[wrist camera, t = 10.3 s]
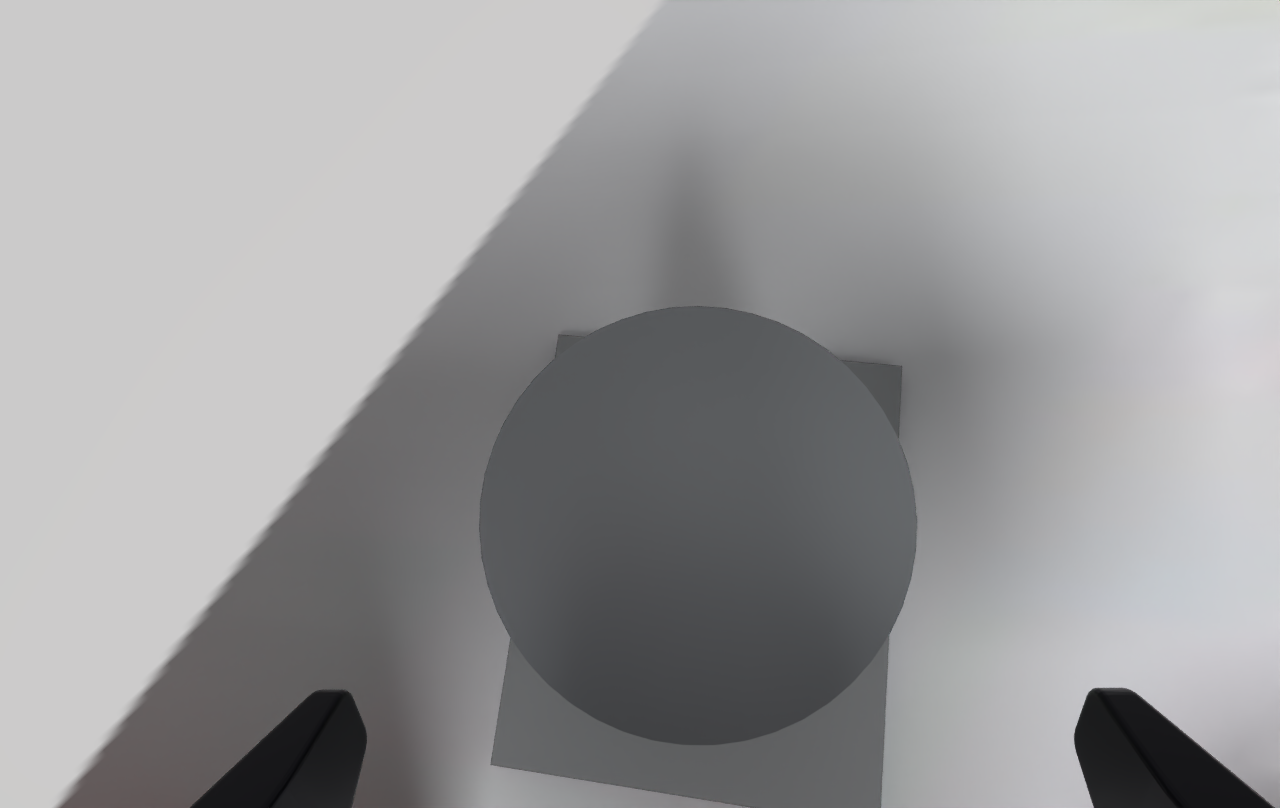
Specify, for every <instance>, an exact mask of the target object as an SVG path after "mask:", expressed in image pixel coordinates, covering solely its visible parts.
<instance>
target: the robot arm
mask: <svg viewBox="0 0 1280 808" xmlns="http://www.w3.org/2000/svg"><path fill="white" fill-rule="evenodd" d="M1074 742H1075V749H1076V753H1077V756H1078V759H1079V762H1080V766H1081V769H1082V772H1083V775H1084V778H1085V781H1086V784H1087V788H1088V791H1089V794H1090V797H1091V800H1092V803H1093V806H1094V808H1275V807H1273V806H1272V805H1271V804H1270V803H1269V802H1267V801H1266V800H1265V799H1264V798H1263V797H1261V796H1260V795H1259V794H1258V793H1257V792H1255V791H1254V790H1253V789H1252V788H1251V787H1249V786H1248V785H1247V784H1246V783H1244V782H1243V781H1242V780H1241V779H1240V778H1238V777H1237V776H1236V775H1235V774H1234V773H1232V772H1231V771H1230V770H1229V769H1228V768H1226V767H1225V766H1224V765H1223V764H1221V763H1220V762H1219V761H1218V760H1217V759H1215V758H1214V757H1213V756H1212V755H1211V754H1209V753H1208V752H1207V751H1206V750H1205V749H1203V748H1202V747H1201V746H1200V745H1198V744H1197V743H1196V742H1195V741H1194V740H1192V739H1191V738H1190V737H1189V736H1188V735H1186V734H1185V733H1184V732H1183V731H1182V730H1180V729H1179V728H1178V727H1177V726H1175V725H1174V724H1173V723H1172V722H1171V721H1169V720H1168V719H1167V718H1166V717H1165V716H1163V715H1162V714H1161V713H1160V712H1159V711H1157V710H1156V709H1155V708H1154V707H1153V706H1151V705H1150V704H1149V703H1148V702H1146V701H1145V700H1144V699H1143V698H1142V697H1140V696H1139V695H1138V694H1136V693H1135V692H1133V691H1131V690H1129V689H1126V688H1094V689H1092V690H1091V691H1090V692H1089V693H1088V695H1087V697H1086V700H1085V703H1084V706H1083V708H1082V711H1081V714H1080V717H1079V720H1078V723H1077V726H1076V729H1075V734H1074ZM366 743H367V735H366V729H365V726H364V724H363V721H362V719H361V716H360V714H359V711H358V709H357V706H356V704H355V701H354V699H353V697H352V695H351V693H349V692H348V691H347V690H318V691H316V692H314V693H312V694H311V695H310V696H308V697H307V698H306V699H305V700H304V701H303V702H302V703H301V704H300V705H299V706H298V707H297V708H296V709H295V710H293V711H292V712H291V713H290V714H289V715H288V716H287V717H286V718H285V719H284V720H283V721H282V722H281V723H280V724H279V725H277V726H276V727H275V728H274V729H273V730H272V731H271V732H270V733H269V734H268V735H267V736H266V737H265V738H264V739H263V740H261V741H260V742H259V743H258V744H257V745H256V746H255V747H254V748H253V749H252V750H251V751H250V752H249V753H248V754H247V755H245V756H244V757H243V758H242V759H241V760H240V761H239V762H238V763H237V764H236V765H235V766H234V767H233V768H232V769H231V770H229V771H228V772H227V773H226V774H225V775H224V776H223V777H222V778H221V779H220V780H219V781H218V782H217V783H216V784H215V785H214V786H212V787H211V788H210V789H209V790H208V791H207V792H206V793H205V794H204V795H203V796H202V797H201V798H200V799H199V800H198V801H196V802H195V803H194V804H193V805H192V806H191V807H190V808H352V804H353V799H354V795H355V791H356V787H357V783H358V779H359V775H360V771H361V766H362V762H363V758H364V754H365V750H366Z"/></svg>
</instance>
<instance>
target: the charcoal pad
mask: <svg viewBox="0 0 1280 808" xmlns="http://www.w3.org/2000/svg"><path fill="white" fill-rule="evenodd" d="M583 338H585V337H580V336H569V335H559V336H558V342H557V348H556V355H555V358H557V357H558V356H559V355H560V354H562V353H563V352H564V351H566V350H567V349H568V348H569V347H571V346H572V345H573V344H575V343H576V342H578V341H580V340H581V339H583ZM840 361H841V360H840ZM841 362H843V363H844V364H845V365H846V366H847V367H848V368H849V369H850V370H851V371H852V372H853V373H854V374H855V375H856V376H857V377H858V378H859V380H860V381H861V382H862V383H863V384H864V385H865V386H866V387H867V388H868V390H869V391H870V393H871V394H872V395H873V397H874V398H875V400H876V401H877V402H878V404H879V405H880V406H881V408H882V409H883V411H884V413H885V415H886V416H887V418H888V420H889V422H890V424H891V426H892V428H893V429H894V431H895V433H896V435H897V437H898V438H899V418H900V397H901V376H902V366H896V365H885V364H874V363H863V362H852V361H841ZM888 646H889V636H888V637H887V639H886V640H885V642H884V643H883V645H882V646H881V648H880V650H879V651H878V653H877V654H876V656H875V657H874V659H873V660H872V661H871V663H870V664H869V665H868V666H867V667H866V668H865V669H864V670H863V672H862V673H861V674H860V675H859V676H858V677H857V678H856V680H855V681H854V682H853V683H852V684H851V685H850V686H848V687H847V688H846V689H845V690H844V691H843V692H841V693H840V694H839V695H838V696H837V697H836V698H834V699H833V700H832V701H831V702H830V703H829V704H827V705H825V706H824V707H822V708H821V709H819V710H817V711H816V712H814V713H813V714H811V715H810V716H808V717H806V718H805V719H803V720H801V721H799V722H797V723H795V724H792V725H790V726H788V727H786V728H783V729H781V730H779V731H777V732H775V733H771V734H768V735H764V736H761V737H757V738H754V739H750V740H747V741H741V742H734V743H727V744H720V745H680V744H673V743H666V742H659V741H653V740H649V739H646V738H642V737H639V736H636V735H632V734H629V733H625V732H623V731H620V730H618V729H616V728H614V727H612V726H609V725H607V724H605V723H603V722H600V721H598V720H596V719H594V718H593V717H591V716H590V715H588V714H587V713H585V712H583V711H582V710H580V709H579V708H577V707H575V706H574V705H572V704H571V703H569V702H568V701H567V700H566V699H565V698H563V697H562V696H561V695H560V694H559V693H557V692H556V691H555V690H554V689H553V688H552V687H550V686H549V685H548V684H547V683H546V682H545V681H544V680H543V679H542V678H541V676H540V675H539V674H538V673H537V672H536V671H535V670H534V669H533V668H532V667H531V665H530V664H529V663H528V662H527V661H526V659H525V658H524V656H523V655H522V654H521V652H520V651H519V649H518V648H517V646H516V645H515V643H514V642H513V641H512V639H511V638H510V645H509V651H508V657H507V664H506V670H505V676H504V683H503V689H502V695H501V702H500V708H499V714H498V720H497V727H496V733H495V739H494V746H493V752H492V758H491V765H494V766H500V767H507V768H513V769H519V770H525V771H531V772H537V773H543V774H550V775H556V776H562V777H568V778H574V779H580V780H586V781H593V782H599V783H605V784H611V785H617V786H623V787H629V788H636V789H642V790H648V791H654V792H660V793H666V794H672V795H679V796H685V797H691V798H697V799H703V800H709V801H715V802H722V803H728V804H734V805H740V806H746V807H752V808H881V792H882V771H883V750H884V729H885V708H886V688H887V667H888Z"/></svg>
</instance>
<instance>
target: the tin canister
mask: <svg viewBox="0 0 1280 808" xmlns="http://www.w3.org/2000/svg"><path fill="white" fill-rule="evenodd" d="M916 531H917V516H916V507H915V497H914V489H913V485H912V481H911V477H910V473H909V468H908V464H907V461H906V458H905V456H904V453H903V450H902V448H901V445H900V443H899V440H898V437H897V435H896V433H895V431H894V429H893V428H892V426H891V424H890V422H889V420H888V418H887V416H886V415H885V413H884V411H883V409H882V408H881V406H880V405H879V404H878V402H877V401H876V400H875V398H874V397H873V395H872V394H871V393H870V391H869V390H868V388H867V387H866V386H865V385H864V384H863V383H862V382H861V381H860V380H859V378H858V377H857V376H856V375H855V374H854V373H853V372H852V371H851V370H850V369H849V368H848V367H847V366H846V365H845V364H844V363H843V362H841V361H840V360H839V359H838V358H836V357H835V356H834V355H833V354H832V353H830V352H829V351H828V350H827V349H826V348H824V347H822V346H821V345H819V344H818V343H816V342H815V341H813V340H811V339H810V338H808V337H807V336H805V335H804V334H802V333H800V332H798V331H796V330H794V329H791V328H789V327H787V326H785V325H783V324H781V323H779V322H776V321H773V320H770V319H767V318H764V317H761V316H758V315H755V314H752V313H747V312H742V311H737V310H732V309H727V308H715V307H702V306H695V307H674V308H667V309H661V310H656V311H650V312H645V313H642V314H638V315H635V316H632V317H628V318H625V319H622V320H619V321H617V322H615V323H612V324H610V325H608V326H606V327H603V328H601V329H599V330H597V331H595V332H593V333H592V334H590V335H588V336H587V337H585V338H583V339H581V340H580V341H578V342H576V343H575V344H573V345H572V346H571V347H569V348H568V349H567V350H566V351H564V352H563V353H562V354H560V355H559V356H558V357H557V358H555V359H554V360H553V361H552V362H551V363H550V364H549V365H548V366H547V367H546V368H545V369H544V370H543V371H542V372H541V373H540V374H539V375H538V376H537V377H536V378H535V379H534V380H533V381H532V382H531V384H530V385H529V386H528V388H527V389H526V390H525V391H524V393H523V394H522V395H521V396H520V398H519V399H518V400H517V402H516V404H515V405H514V407H513V409H512V410H511V412H510V414H509V415H508V417H507V419H506V420H505V422H504V424H503V426H502V428H501V431H500V433H499V435H498V437H497V440H496V442H495V444H494V446H493V449H492V452H491V456H490V459H489V462H488V466H487V469H486V472H485V477H484V483H483V489H482V495H481V501H480V524H479V532H480V543H481V555H482V561H483V565H484V570H485V575H486V579H487V584H488V587H489V590H490V593H491V595H492V598H493V601H494V604H495V607H496V609H497V612H498V614H499V616H500V618H501V620H502V622H503V624H504V626H505V628H506V630H507V632H508V634H509V636H510V637H511V639H512V641H513V642H514V643H515V645H516V646H517V648H518V649H519V651H520V652H521V654H522V655H523V656H524V658H525V659H526V661H527V662H528V663H529V664H530V665H531V667H532V668H533V669H534V670H535V671H536V672H537V673H538V674H539V675H540V676H541V678H542V679H543V680H544V681H545V682H546V683H547V684H548V685H549V686H550V687H552V688H553V689H554V690H555V691H556V692H557V693H559V694H560V695H561V696H562V697H563V698H565V699H566V700H567V701H568V702H569V703H571V704H572V705H574V706H575V707H577V708H579V709H580V710H582V711H583V712H585V713H587V714H588V715H590V716H591V717H593V718H594V719H596V720H598V721H600V722H603V723H605V724H607V725H609V726H612V727H614V728H616V729H618V730H620V731H623V732H625V733H629V734H632V735H636V736H639V737H642V738H646V739H649V740H653V741H659V742H666V743H673V744H680V745H720V744H727V743H734V742H741V741H747V740H750V739H754V738H757V737H761V736H764V735H768V734H771V733H775V732H777V731H779V730H781V729H783V728H786V727H788V726H790V725H792V724H795V723H797V722H799V721H801V720H803V719H805V718H806V717H808V716H810V715H811V714H813V713H814V712H816V711H817V710H819V709H821V708H822V707H824V706H825V705H827V704H829V703H830V702H831V701H832V700H833V699H834V698H836V697H837V696H838V695H839V694H840V693H841V692H843V691H844V690H845V689H846V688H847V687H848V686H850V685H851V684H852V683H853V682H854V681H855V680H856V678H857V677H858V676H859V675H860V674H861V673H862V672H863V670H864V669H865V668H866V667H867V666H868V665H869V664H870V663H871V661H872V660H873V659H874V657H875V656H876V654H877V653H878V651H879V650H880V648H881V646H882V645H883V643H884V642H885V640H886V639H887V637H888V636H889V634H890V632H891V630H892V628H893V626H894V623H895V621H896V619H897V617H898V615H899V613H900V611H901V609H902V606H903V603H904V600H905V596H906V593H907V590H908V587H909V584H910V580H911V576H912V570H913V564H914V558H915V552H916Z"/></svg>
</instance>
